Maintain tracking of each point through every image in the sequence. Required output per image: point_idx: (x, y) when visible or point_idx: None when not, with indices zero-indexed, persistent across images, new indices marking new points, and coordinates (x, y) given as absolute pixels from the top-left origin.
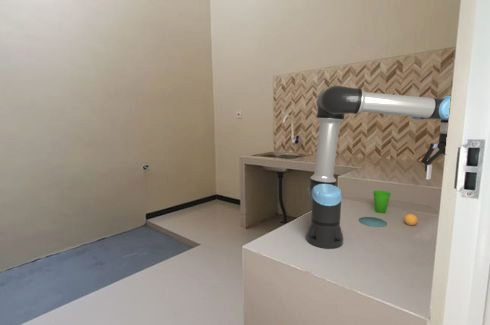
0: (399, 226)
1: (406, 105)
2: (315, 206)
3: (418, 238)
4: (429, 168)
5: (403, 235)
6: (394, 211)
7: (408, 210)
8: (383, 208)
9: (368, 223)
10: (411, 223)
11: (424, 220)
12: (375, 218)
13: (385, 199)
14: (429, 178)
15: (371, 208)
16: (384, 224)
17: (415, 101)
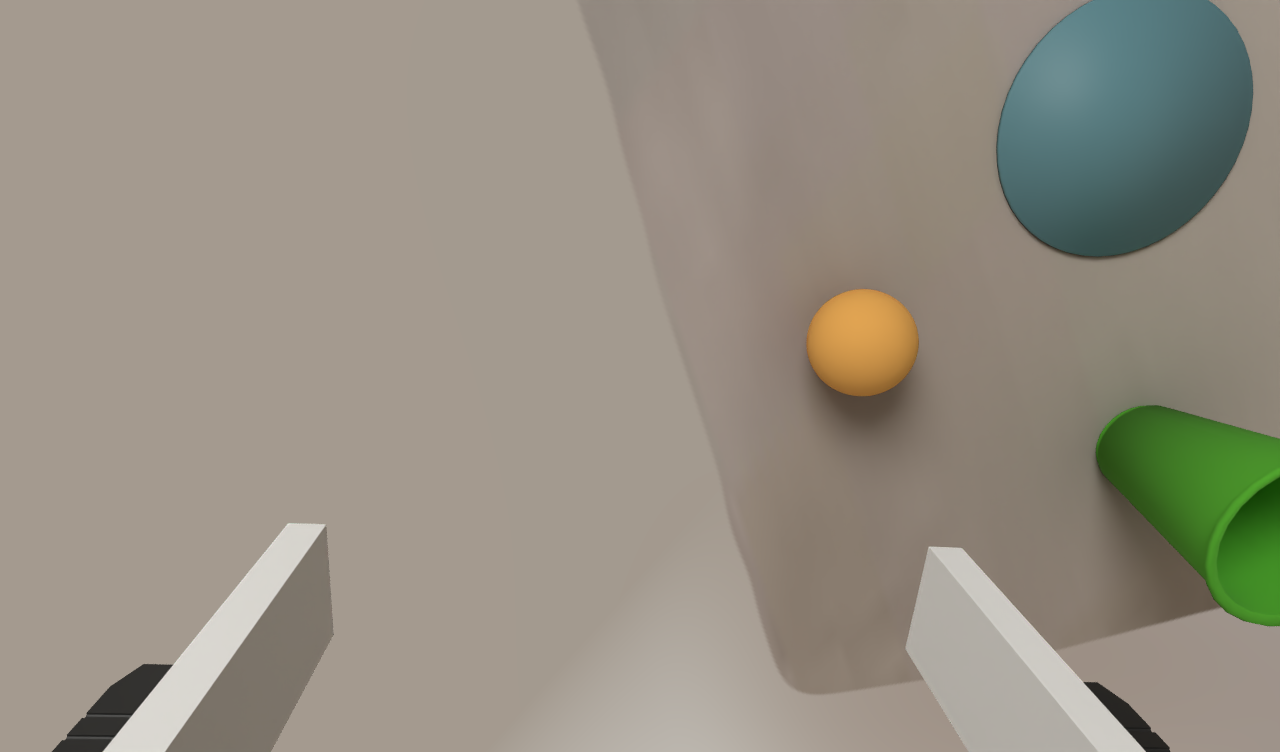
0: (900, 218)
1: None
2: None
3: (695, 62)
4: (1067, 749)
5: (807, 21)
6: (1040, 546)
7: None
8: (1140, 436)
9: (1142, 36)
10: (835, 296)
11: (795, 523)
12: (1125, 231)
13: (1205, 477)
14: (923, 605)
15: None
16: (1015, 143)
17: None
